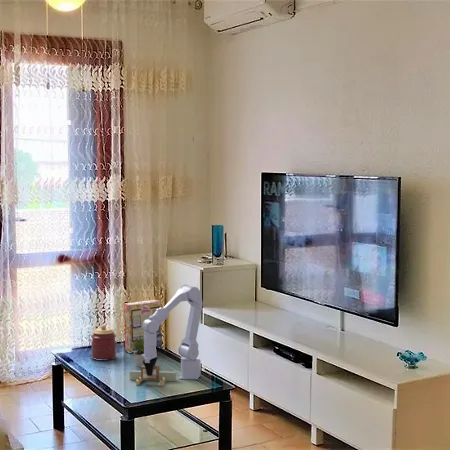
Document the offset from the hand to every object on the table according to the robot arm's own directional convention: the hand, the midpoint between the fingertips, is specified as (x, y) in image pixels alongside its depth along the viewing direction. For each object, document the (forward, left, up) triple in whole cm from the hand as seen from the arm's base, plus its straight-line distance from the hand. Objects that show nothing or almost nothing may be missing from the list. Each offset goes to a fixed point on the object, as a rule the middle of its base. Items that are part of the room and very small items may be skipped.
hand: (150, 374), depth 335 cm
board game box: (+17, -63, -5) cm, 66 cm away
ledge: (0, -2, -4) cm, 5 cm away
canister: (+34, -45, -5) cm, 56 cm away
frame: (0, 0, -2) cm, 2 cm away
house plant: (+12, -31, -5) cm, 33 cm away
